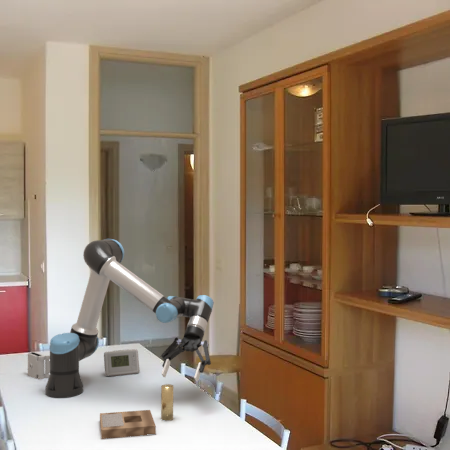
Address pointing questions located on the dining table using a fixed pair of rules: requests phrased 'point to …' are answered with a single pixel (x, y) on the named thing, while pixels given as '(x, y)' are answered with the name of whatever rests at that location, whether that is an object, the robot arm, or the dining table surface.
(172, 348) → the robot arm
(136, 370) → the digital clock
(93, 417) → the dining table surface
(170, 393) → the pin
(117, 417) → the brown block with recess
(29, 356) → the grey slotted box
